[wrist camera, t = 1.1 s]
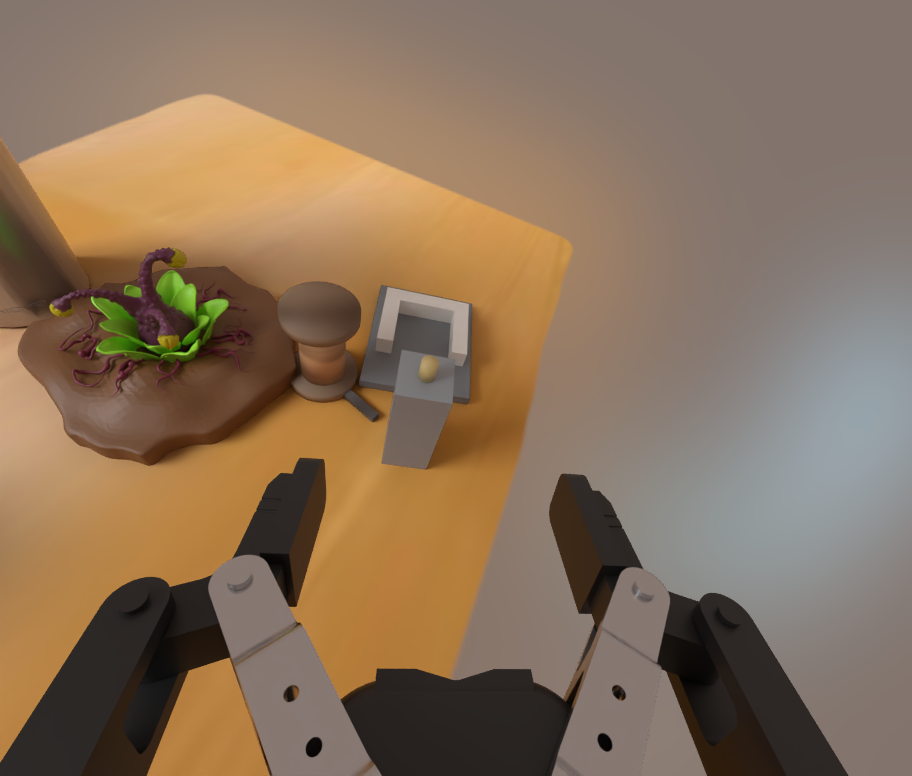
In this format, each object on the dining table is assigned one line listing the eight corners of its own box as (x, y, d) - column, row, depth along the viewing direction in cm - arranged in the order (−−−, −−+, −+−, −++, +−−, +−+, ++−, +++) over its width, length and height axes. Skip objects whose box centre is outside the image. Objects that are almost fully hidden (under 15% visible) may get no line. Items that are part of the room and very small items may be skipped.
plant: (337, 378, 41) (336, 294, 32) (113, 503, 30) (18, 429, 21) (230, 262, 46) (203, 163, 37) (9, 333, 36) (-101, 218, 27)
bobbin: (280, 357, 40) (268, 287, 33) (345, 343, 43) (346, 276, 36) (310, 441, 36) (302, 381, 29) (379, 419, 38) (388, 360, 31)
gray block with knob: (425, 469, 37) (457, 391, 27) (381, 463, 36) (396, 380, 26) (429, 430, 39) (460, 345, 29) (387, 424, 38) (404, 335, 28)
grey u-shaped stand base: (467, 404, 42) (474, 387, 39) (359, 386, 40) (360, 367, 38) (470, 309, 50) (476, 291, 48) (380, 291, 48) (382, 271, 46)
